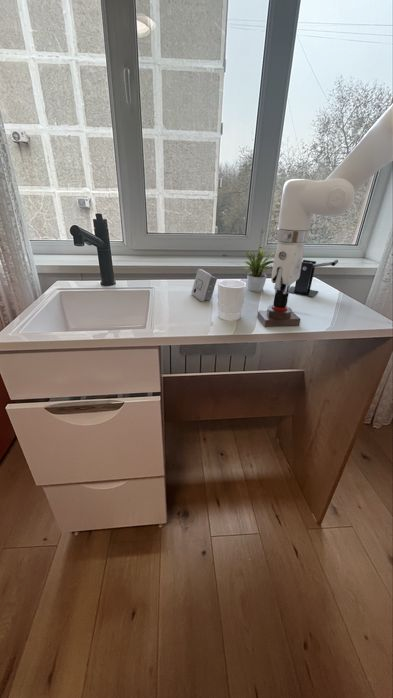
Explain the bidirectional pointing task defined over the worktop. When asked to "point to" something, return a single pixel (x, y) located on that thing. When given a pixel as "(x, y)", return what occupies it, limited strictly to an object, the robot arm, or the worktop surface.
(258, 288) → the house plant
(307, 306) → the worktop surface
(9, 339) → the worktop surface
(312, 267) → the grey lever
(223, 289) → the white cup
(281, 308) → the button
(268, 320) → the button block
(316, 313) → the worktop surface
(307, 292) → the black upright stand
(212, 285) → the electrical switch
